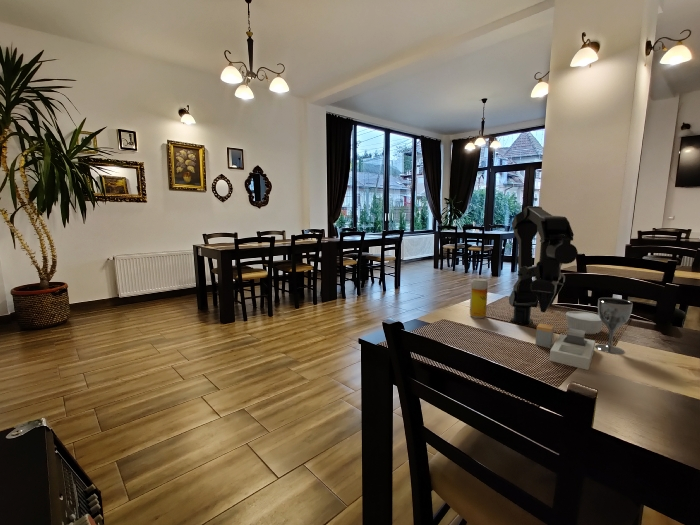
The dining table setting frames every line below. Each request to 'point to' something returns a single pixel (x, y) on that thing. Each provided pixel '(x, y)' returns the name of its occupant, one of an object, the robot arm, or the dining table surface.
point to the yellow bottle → (478, 297)
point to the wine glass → (613, 319)
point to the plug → (544, 335)
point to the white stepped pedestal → (573, 349)
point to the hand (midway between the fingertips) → (546, 308)
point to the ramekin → (584, 321)
